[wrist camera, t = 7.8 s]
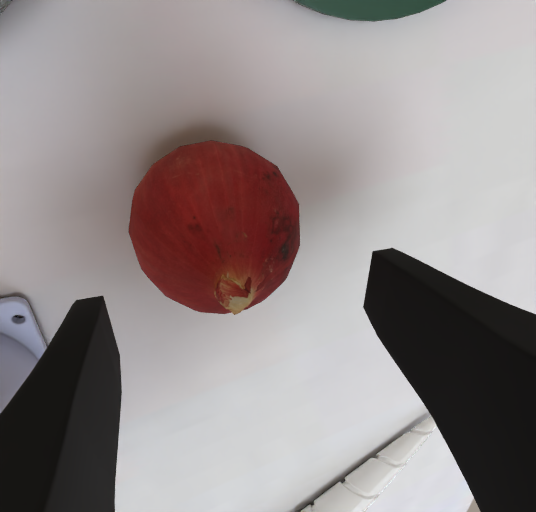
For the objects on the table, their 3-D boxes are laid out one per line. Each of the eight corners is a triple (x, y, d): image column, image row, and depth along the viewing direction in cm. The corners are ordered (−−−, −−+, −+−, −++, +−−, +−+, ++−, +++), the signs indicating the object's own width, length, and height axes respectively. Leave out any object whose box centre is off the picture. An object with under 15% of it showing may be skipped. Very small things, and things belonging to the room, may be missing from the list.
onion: (261, 103, 17) (348, 187, 10) (273, 227, 20) (342, 348, 14) (110, 128, 16) (101, 238, 9) (149, 255, 19) (161, 400, 13)
